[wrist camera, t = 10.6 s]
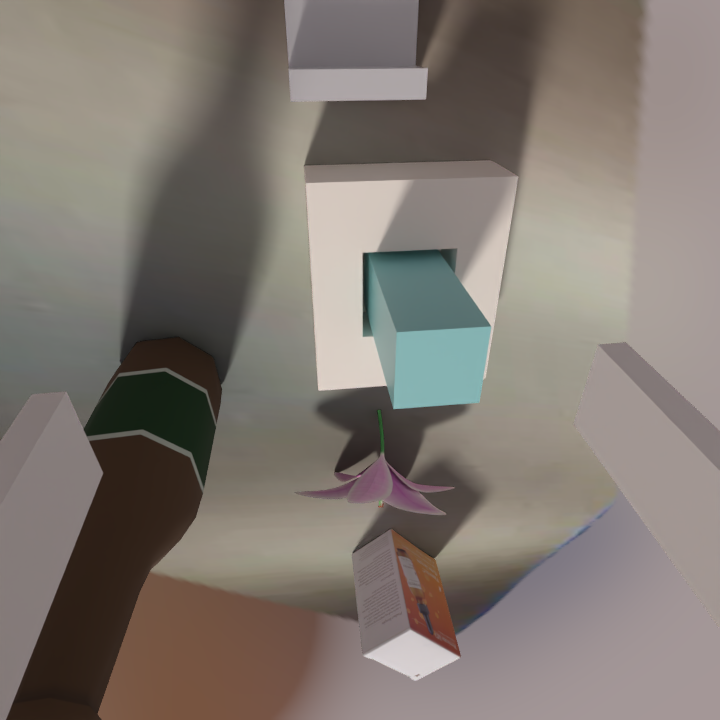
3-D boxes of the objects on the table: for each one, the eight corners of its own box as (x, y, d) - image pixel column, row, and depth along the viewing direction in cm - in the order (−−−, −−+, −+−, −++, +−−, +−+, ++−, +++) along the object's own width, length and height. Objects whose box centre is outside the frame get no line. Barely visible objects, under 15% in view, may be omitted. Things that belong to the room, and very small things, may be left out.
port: (303, 165, 31) (305, 184, 27) (491, 160, 32) (519, 177, 28) (315, 356, 38) (318, 392, 34) (466, 346, 39) (486, 380, 35)
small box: (435, 558, 54) (463, 658, 45) (396, 582, 56) (416, 683, 47) (390, 526, 50) (411, 629, 42) (349, 553, 52) (361, 657, 43)
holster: (277, -98, 24) (275, -119, 21) (419, -94, 25) (439, -115, 21) (290, 94, 28) (290, 101, 25) (410, 92, 29) (426, 99, 26)
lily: (277, 430, 43) (283, 546, 39) (362, 377, 36) (381, 513, 31) (379, 444, 51) (394, 542, 46) (468, 402, 43) (495, 515, 38)
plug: (364, 242, 33) (396, 332, 23) (431, 239, 33) (491, 326, 23) (364, 304, 35) (393, 409, 25) (426, 300, 36) (479, 402, 26)
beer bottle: (233, 345, 37) (164, 707, 17) (215, 423, 41) (140, 796, 21) (122, 321, 35) (-108, 701, 15) (113, 406, 39) (-79, 801, 19)
